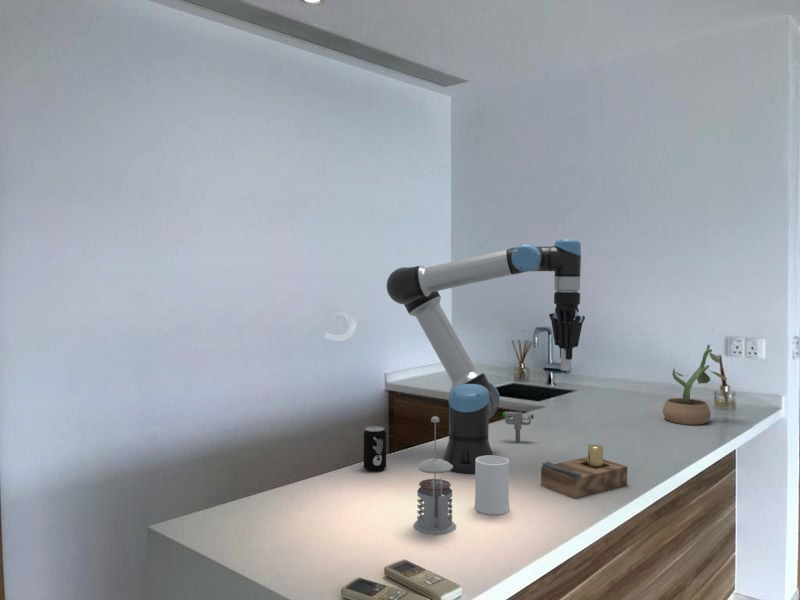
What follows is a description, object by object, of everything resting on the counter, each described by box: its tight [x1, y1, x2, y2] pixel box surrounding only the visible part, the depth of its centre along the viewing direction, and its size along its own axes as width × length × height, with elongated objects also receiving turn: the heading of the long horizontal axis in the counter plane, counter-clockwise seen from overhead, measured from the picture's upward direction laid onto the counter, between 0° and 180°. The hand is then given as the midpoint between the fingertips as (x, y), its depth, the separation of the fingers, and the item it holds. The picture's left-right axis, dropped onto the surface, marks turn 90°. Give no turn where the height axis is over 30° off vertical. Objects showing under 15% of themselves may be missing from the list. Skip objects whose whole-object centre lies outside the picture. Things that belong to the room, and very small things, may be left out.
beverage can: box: [363, 425, 387, 473], centre depth 190 cm, size 7×7×12 cm
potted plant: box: [662, 344, 728, 426], centre depth 250 cm, size 22×18×30 cm
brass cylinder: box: [587, 443, 604, 469], centre depth 178 cm, size 4×4×10 cm
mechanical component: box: [501, 411, 534, 444], centre depth 220 cm, size 3×10×10 cm, turn 79°
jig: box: [540, 456, 628, 499], centre depth 176 cm, size 20×12×6 cm, turn 122°
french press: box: [412, 415, 457, 536], centre depth 146 cm, size 10×12×25 cm
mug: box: [473, 454, 511, 516], centre depth 159 cm, size 12×8×12 cm
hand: (565, 369), depth 195 cm, fingers closed
